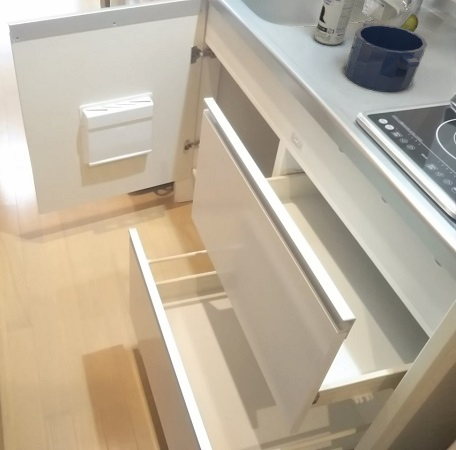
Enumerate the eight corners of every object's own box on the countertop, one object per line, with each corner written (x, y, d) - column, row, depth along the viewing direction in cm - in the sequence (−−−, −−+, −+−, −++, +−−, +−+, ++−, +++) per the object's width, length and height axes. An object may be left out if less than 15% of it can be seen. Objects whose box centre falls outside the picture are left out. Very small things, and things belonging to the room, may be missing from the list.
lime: (398, 37, 127) (405, 17, 123) (392, 29, 130) (399, 9, 127) (416, 38, 127) (424, 18, 123) (410, 31, 130) (418, 10, 127)
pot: (385, 56, 118) (398, 18, 113) (430, 97, 105) (448, 57, 99) (329, 58, 116) (340, 20, 111) (368, 100, 103) (382, 59, 97)
